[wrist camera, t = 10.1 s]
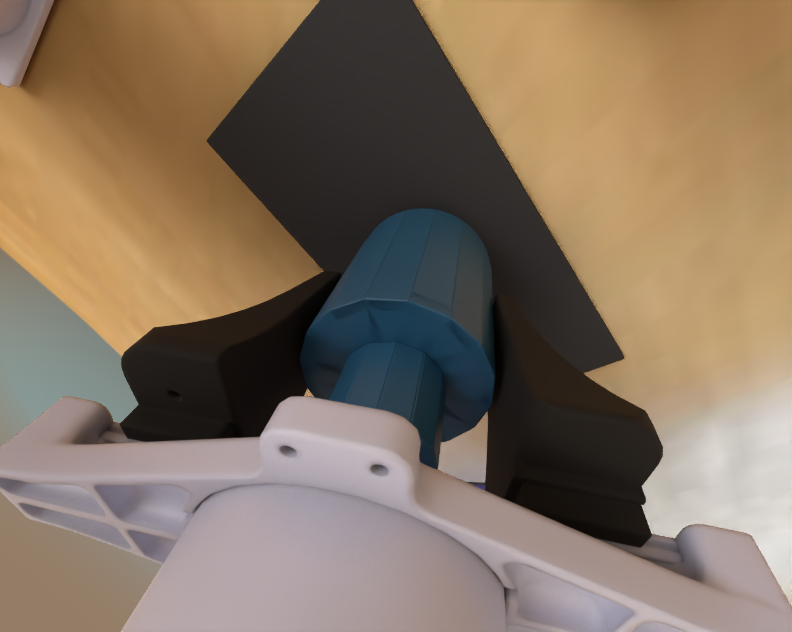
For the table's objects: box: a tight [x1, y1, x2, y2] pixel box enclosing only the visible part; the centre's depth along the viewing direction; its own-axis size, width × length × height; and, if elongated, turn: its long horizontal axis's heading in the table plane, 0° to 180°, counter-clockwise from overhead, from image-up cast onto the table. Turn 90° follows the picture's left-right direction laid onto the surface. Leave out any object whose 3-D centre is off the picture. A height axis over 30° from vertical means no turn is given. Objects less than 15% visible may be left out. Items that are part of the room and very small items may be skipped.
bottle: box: [300, 208, 496, 470], centre depth 13 cm, size 6×6×10 cm
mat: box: [207, 0, 624, 373], centre depth 18 cm, size 20×10×1 cm, turn 38°
